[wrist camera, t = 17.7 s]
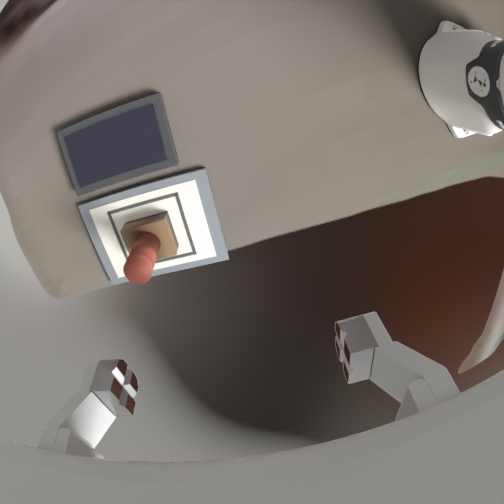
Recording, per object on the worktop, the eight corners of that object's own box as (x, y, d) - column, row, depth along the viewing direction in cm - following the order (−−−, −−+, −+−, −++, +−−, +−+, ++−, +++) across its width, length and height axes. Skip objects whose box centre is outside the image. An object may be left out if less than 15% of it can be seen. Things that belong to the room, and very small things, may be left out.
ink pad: (161, 93, 31) (158, 92, 30) (179, 162, 36) (176, 165, 34) (62, 130, 31) (55, 132, 30) (82, 192, 36) (76, 197, 34)
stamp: (167, 210, 38) (155, 245, 30) (178, 244, 40) (170, 284, 32) (125, 222, 38) (104, 257, 30) (138, 254, 40) (122, 294, 32)
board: (205, 167, 37) (205, 169, 36) (228, 256, 43) (228, 260, 42) (80, 204, 37) (77, 206, 36) (114, 281, 43) (112, 285, 42)
